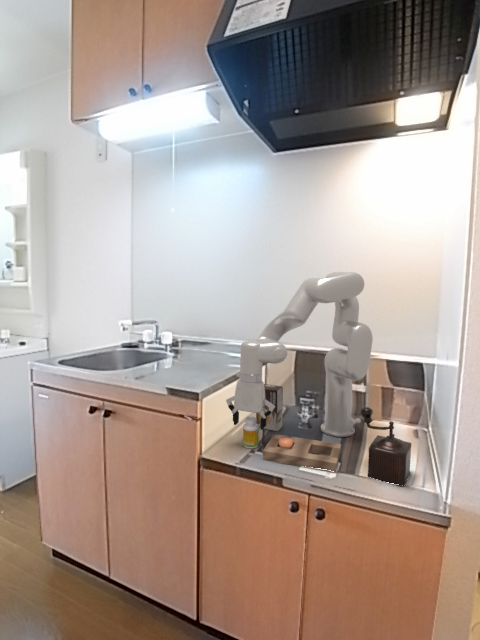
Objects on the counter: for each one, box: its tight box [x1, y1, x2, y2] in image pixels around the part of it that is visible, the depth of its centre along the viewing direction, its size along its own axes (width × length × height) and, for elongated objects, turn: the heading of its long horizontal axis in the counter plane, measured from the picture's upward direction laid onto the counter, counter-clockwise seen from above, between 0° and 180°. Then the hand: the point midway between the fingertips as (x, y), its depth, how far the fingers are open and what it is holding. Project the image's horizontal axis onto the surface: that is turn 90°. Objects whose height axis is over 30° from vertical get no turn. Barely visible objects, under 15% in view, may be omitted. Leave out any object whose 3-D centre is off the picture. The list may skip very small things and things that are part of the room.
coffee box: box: [255, 383, 284, 432], centre depth 149 cm, size 9×6×16 cm
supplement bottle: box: [242, 416, 260, 450], centre depth 132 cm, size 5×5×10 cm
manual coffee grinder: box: [360, 406, 412, 487], centre depth 115 cm, size 16×11×18 cm
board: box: [262, 433, 342, 473], centre depth 125 cm, size 23×14×3 cm, turn 70°
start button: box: [279, 438, 293, 449], centre depth 127 cm, size 4×4×3 cm
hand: (249, 426), depth 132 cm, fingers open, 9 cm apart
